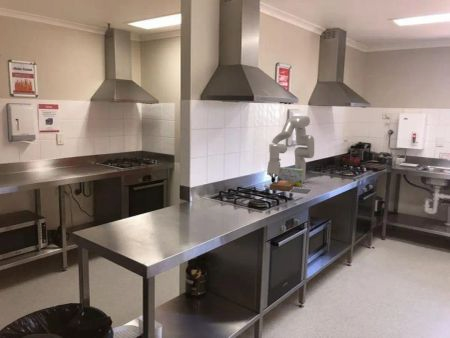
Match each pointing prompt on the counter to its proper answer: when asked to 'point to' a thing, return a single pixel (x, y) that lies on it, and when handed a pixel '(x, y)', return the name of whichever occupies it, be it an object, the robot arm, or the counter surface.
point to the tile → (282, 182)
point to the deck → (281, 187)
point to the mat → (300, 190)
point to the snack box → (291, 176)
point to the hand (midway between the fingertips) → (273, 182)
